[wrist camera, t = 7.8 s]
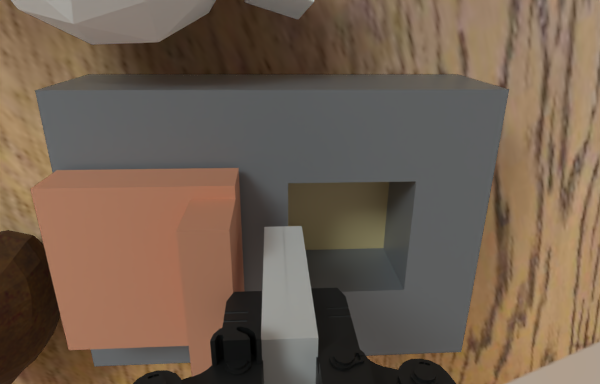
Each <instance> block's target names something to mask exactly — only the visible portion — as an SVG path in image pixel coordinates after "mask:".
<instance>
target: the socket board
mask: <svg viewBox="0 0 600 384" xmlns="http://www.w3.org/2000/svg"><path fill="white" fill-rule="evenodd" d="M35 92H36V97H37V102H38V106H39V111H40V116H41V120H42V125H43V130H44V134H45V139H46V144H47V148H48V153H49V158H50V162H51V167H52V171H53V173H54V172H55V171H56V170H109V169H188V168H239V185H240V207H241V228H242V249H243V270H244V291H262V289H263V257H264V227H277V226H302V231H303V237H304V244H305V251H306V258H307V264H308V271H309V278H310V285H311V288H338V289H339V290H340V291H341V292H342V293H343V294H344V295H345V296H346V300H347V303H348V309H349V311H350V314H351V318H352V322H353V326H354V329H355V333H356V337H357V340H358V344H359V348H360V350H361V351H363V352H364V353H365V355H366V356H369V355H394V354H420V353H445V352H461V350H462V345H463V339H464V334H465V328H466V323H467V317H468V312H469V306H470V301H471V296H472V290H473V285H474V279H475V274H476V268H477V263H478V257H479V252H480V246H481V241H482V235H483V230H484V224H485V219H486V213H487V208H488V202H489V197H490V191H491V186H492V180H493V175H494V169H495V164H496V158H497V153H498V147H499V142H500V136H501V131H502V125H503V120H504V114H505V109H506V103H507V98H508V92H509V89H506V88H502V87H499V86H496V85H492V84H489V83H485V82H482V81H479V80H475V79H472V78H468V77H465V76H462V75H458V74H88V75H85V76H81V77H78V78H75V79H71V80H68V81H65V82H61V83H58V84H55V85H51V86H48V87H45V88H41V89H38V90H35ZM91 353H92V358H93V363H94V366H116V365H141V364H166V363H190V354H189V346H169V347H142V348H115V349H91Z"/></svg>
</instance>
